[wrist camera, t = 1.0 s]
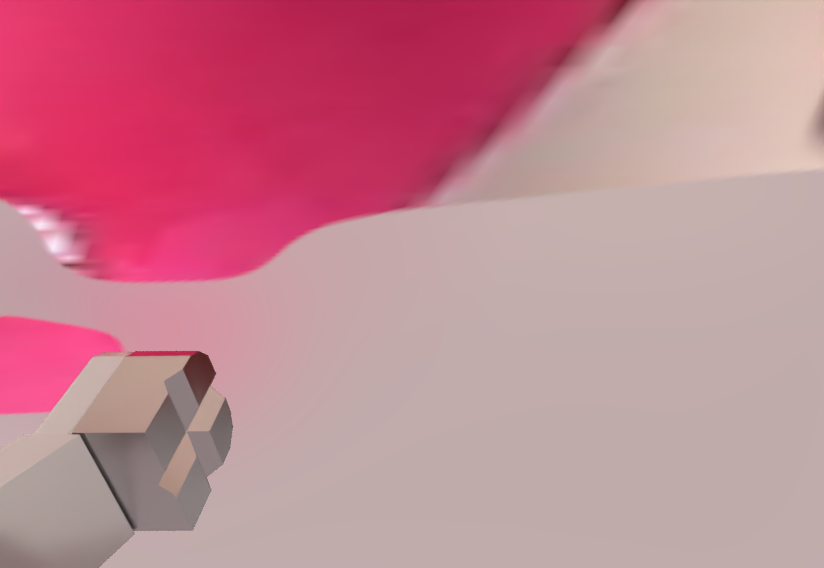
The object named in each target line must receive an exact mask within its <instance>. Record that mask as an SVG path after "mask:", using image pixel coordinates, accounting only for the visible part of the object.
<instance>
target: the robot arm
mask: <svg viewBox="0 0 824 568" xmlns="http://www.w3.org/2000/svg"><path fill="white" fill-rule="evenodd" d="M215 375H216V372H215V370H214V368H213V365H212V363H211V361H210V359H209V356H208V355H206V354H204V353H202V352H200V351H136V352H103V353H101V354H98V355H96V356H94V357H92V359H91V360H90V361H89V363H88V364H87V365H86V366H85V368H84V369H83V370H82V372H81V373H80V374H79V376H78V377H77V378H76V380H75V381H74V382H73V383H72V385H71V386H70V387H69V389H68V390H67V391H66V393H65V394H64V395H63V397H62V398H61V399H60V400H59V402H58V403H57V404H56V406H55V407H54V408H53V410H52V411H51V412H50V414H49V415H48V416H47V418H46V419H45V420H44V421H43V423H42V424H41V425H40V427H39V428H38V429H37V431H36V432H35V433H34V435H22V436H20V437H19V438H17V439H16V440H14V441H12V442H11V443H9V444H8V445H6V446H4V447H2V448H1V449H0V568H99V567H100V566H101V565H102V564H103V563H104V562H105V561H106V560H107V559H109V557H111V556H112V555H113V554H114V553H115V552H116V551H117V550H118V549H119V548H120V547H121V546H122V545H123V544H125V542H127V541H128V540H129V539H130V538H131V537H132V536H133V535H134V531H159V530H160V531H163V530H164V531H174V530H175V531H176V530H193V529H194V527H195V524H196V522H197V520H198V518H199V516H200V514H201V511H202V509H203V507H204V505H205V503H206V500H207V498H208V496H209V494H210V492H211V488H210V485H209V482H208V480H207V477H208V476H209V475H210V474H211V473H213V472H214V471H215V470H216V469H217V468H219V467H220V466H222V465H223V463H224V461H225V458H226V456H227V454H228V451H229V449H230V444H231V437H232V428H233V425H232V418H231V411H230V408H229V406H228V403H227V400H226V398H225V397H224V396H223V395H221V394H220V393H219V392H218V391H216V390H215V389H214V388H213V387H211V384H212V382H213V379H214V377H215Z"/></svg>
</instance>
